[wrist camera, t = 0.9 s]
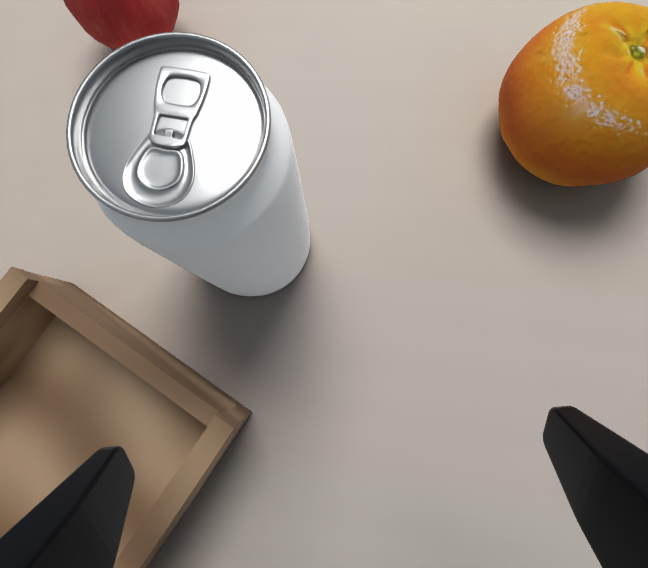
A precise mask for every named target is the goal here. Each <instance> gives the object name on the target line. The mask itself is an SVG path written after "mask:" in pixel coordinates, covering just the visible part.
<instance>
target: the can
mask: <svg viewBox="0 0 648 568" xmlns="http://www.w3.org/2000/svg"><path fill="white" fill-rule="evenodd" d="M66 139H67V148H68V153H69V157H70V160H71V163H72V166H73V168H74V170H75V172H76V174H77V176H78V178H79V179H80V181H81V182H82V184H83V185H84V187H85V188H86V189H87V190H88V191H89V192H90V193H91V194H92V195H93V196H94V197H95V199H96V201H97V203H98V205H99V206H100V208H101V210H102V211H103V212H104V214H105V215H106V216H107V217H108V219H109V220H110V221H111V222H112V223H113V224H114V225H115V226H117V227H118V228H119V229H120V230H121V231H123V232H124V233H125V234H126V235H128V236H129V237H131V238H132V239H134V240H135V241H137V242H139V243H140V244H142V245H144V246H145V247H147V248H149V249H150V250H152V251H154V252H156V253H157V254H159V255H161V256H163V257H165V258H166V259H168V260H170V261H172V262H173V263H175V264H177V265H179V266H181V267H182V268H184V269H186V270H188V271H189V272H191V273H193V274H195V275H197V276H199V277H200V278H202V279H204V280H206V281H208V282H209V283H211V284H213V285H215V286H217V287H219V288H221V289H223V290H225V291H227V292H229V293H232V294H236V295H241V296H261V295H267V294H270V293H273V292H275V291H278V290H280V289H281V288H283V287H285V286H286V285H287V284H289V283H290V282H291V281H292V280H293V279H294V278H295V277H296V276H297V275H298V274H299V272H300V271H301V269H302V268H303V266H304V264H305V262H306V259H307V257H308V253H309V249H310V228H309V222H308V217H307V211H306V206H305V201H304V195H303V190H302V185H301V180H300V175H299V170H298V165H297V160H296V155H295V150H294V146H293V141H292V137H291V133H290V129H289V126H288V123H287V120H286V118H285V115H284V113H283V111H282V109H281V107H280V105H279V103H278V102H277V100H276V99H275V97H274V96H273V95H272V93H271V92H270V91H269V90H268V89H267V88H266V87H265V86H264V85H263V82H262V80H261V79H260V77H259V75H258V74H257V72H256V71H255V69H254V68H253V67H252V65H251V64H250V63H249V62H248V61H247V60H246V59H245V58H244V57H243V56H242V55H241V54H239V53H238V52H237V51H235V50H234V49H233V48H231V47H229V46H228V45H226V44H224V43H222V42H220V41H218V40H216V39H213V38H210V37H207V36H204V35H199V34H194V33H187V32H166V33H158V34H153V35H149V36H145V37H142V38H139V39H136V40H134V41H131V42H129V43H127V44H125V45H123V46H121V47H119V48H118V49H116V50H115V51H113V52H112V53H110V54H109V55H107V56H106V57H105V58H104V59H102V60H101V61H100V62H99V63H98V64H97V65H96V66H95V67H94V68H93V69H92V70H91V71H90V73H89V74H88V75H87V76H86V78H85V79H84V81H83V82H82V84H81V85H80V87H79V89H78V90H77V92H76V94H75V97H74V99H73V101H72V104H71V107H70V111H69V115H68V120H67V129H66Z"/></svg>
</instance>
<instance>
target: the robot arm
mask: <svg viewBox="0 0 648 568" xmlns="http://www.w3.org/2000/svg"><path fill="white" fill-rule="evenodd" d="M543 441H544V445H545V448H546V450H547V452H548V455H549V457H550V459H551V462H552V464H553V466H554V469H555V471H556V473H557V476H558V478H559V480H560V483H561V485H562V487H563V490H564V492H565V494H566V497H567V499H568V501H569V504H570V506H571V508H572V510H573V513H574V515H575V517H576V519H577V521H578V523H579V525H580V527H581V529H582V531H583V533H584V535H585V536H586V538H587V540H588V542H589V544H590V546H591V548H592V549H593V551H594V553H595V555H596V557H597V559H598V560H599V562H600V564H601V566H602V568H648V453H646V452H645V451H643V450H641V449H640V448H638V447H637V446H635V445H633V444H632V443H630V442H629V441H627V440H626V439H624V438H622V437H621V436H619V435H618V434H616V433H615V432H613V431H611V430H610V429H608V428H607V427H605V426H604V425H602V424H600V423H599V422H597V421H596V420H594V419H592V418H591V417H589V416H588V415H586V414H585V413H583V412H581V411H580V410H578V409H577V408H575V407H572V406H561V407H553V408H551V409H550V410H549V413H548V417H547V420H546V424H545V428H544V432H543ZM134 482H135V472H134V469H133V466H132V464H131V462H130V460H129V458H128V456H127V454H126V452H125V450H124V449H123V448H122V447H121V446H111V447H103V448H100V449H99V450H97V451H96V452H95V453H94V454H93V455H92V456H90V457H89V458H88V459H87V460H86V461H85V462H84V463H83V464H82V465H80V466H79V467H78V468H77V469H76V470H75V471H74V472H73V473H72V474H71V475H69V476H68V477H67V478H66V479H65V480H64V481H63V482H62V483H61V484H59V485H58V486H57V487H56V488H55V489H54V490H53V491H52V492H51V493H50V494H48V495H47V496H46V497H45V498H44V499H43V500H42V501H41V502H40V503H38V504H37V505H36V506H35V507H34V508H33V509H32V510H31V511H30V512H29V513H27V514H26V515H25V516H24V517H23V518H22V519H21V520H20V521H19V522H17V523H16V524H15V525H14V526H13V527H12V528H11V529H10V530H9V531H8V532H6V533H5V534H4V535H3V536H2V537H1V538H0V568H113V567H114V564H115V560H116V557H117V553H118V549H119V545H120V541H121V537H122V533H123V528H124V524H125V520H126V516H127V512H128V507H129V503H130V499H131V495H132V491H133V486H134Z"/></svg>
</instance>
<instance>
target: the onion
mask: <svg viewBox="0 0 648 568" xmlns="http://www.w3.org/2000/svg"><path fill="white" fill-rule="evenodd" d="M64 2H65V5H66V6H67V8H68V9H69V11H70V12H71V13H72V15H73V16H74V17H75V19H76V20H77V21H78V22H79V24H80V25H81V26H82V27H83V29H84V30H85V31H86V32H87V33H88V34H89V35H91V36H92V37H93V38H94V39H95V40H96V41H98V42H100V43H102V44H104V45H106V46H108V47H110V48H112V49H114V50H116V49H118V48H119V47H121V46H123V45H125V44H127V43H129V42H131V41H134V40H136V39H139V38H142V37H145V36H149V35H153V34H158V33H166V32H172V31H173V29H174V26H175V23H176V19H177V15H178V10H179V0H64Z"/></svg>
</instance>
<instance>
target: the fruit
mask: <svg viewBox="0 0 648 568" xmlns="http://www.w3.org/2000/svg"><path fill="white" fill-rule="evenodd" d="M499 121H500V132H501V135H502V138H503V140H504V142H505V143H506V145H507V146H508V148H509V150H510V151H511V153H512V154H513V156H514V157H515V159H516V160H517V161H518V162H519V163H520V165H521V166H522V167H524V168H525V169H526V170H527V171H529V172H530V173H532V174H533V175H535V176H536V177H538V178H540V179H542V180H544V181H547V182H549V183H552V184H556V185H561V186H570V187H572V186H587V185H597V184H606V183H612V182H617V181H620V180H623V179H626V178H628V177H631V176H633V175H635V174H637V173H639V172H641V171H642V170H644V169H646V168H647V167H648V7H645V6H640V5H636V4H631V3H623V2H606V3H597V4H592V5H588V6H585V7H582V8H580V9H577V10H575V11H572V12H569V13H567V14H566V15H564V16H562V17H560V18H558V19H557V20H555V21H553V22H552V23H551V24H549V25H548V26H546V27H545V28H543V29H542V30H541V31H540V32H539V33H538V34H537V35H535V36H534V37H533V38H532V39H531V40H530V41H529V42H528V43H527V44H526V45H525V46H524V47H523V49H522V50H521V51H520V52H519V53H518V55H517V56H516V57H515V59H514V60H513V61H512V63H511V65H510V66H509V68H508V70H507V72H506V74H505V76H504V79H503V82H502V84H501V88H500V92H499Z"/></svg>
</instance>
